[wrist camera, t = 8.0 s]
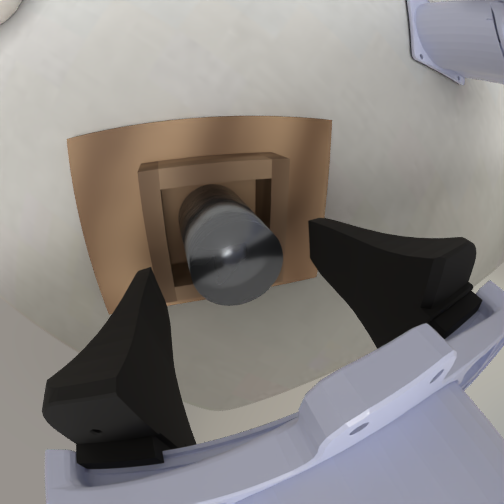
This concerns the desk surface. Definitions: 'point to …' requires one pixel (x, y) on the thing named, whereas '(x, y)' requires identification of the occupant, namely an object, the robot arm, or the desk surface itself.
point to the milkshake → (8, 9)
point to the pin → (227, 246)
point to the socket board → (188, 179)
